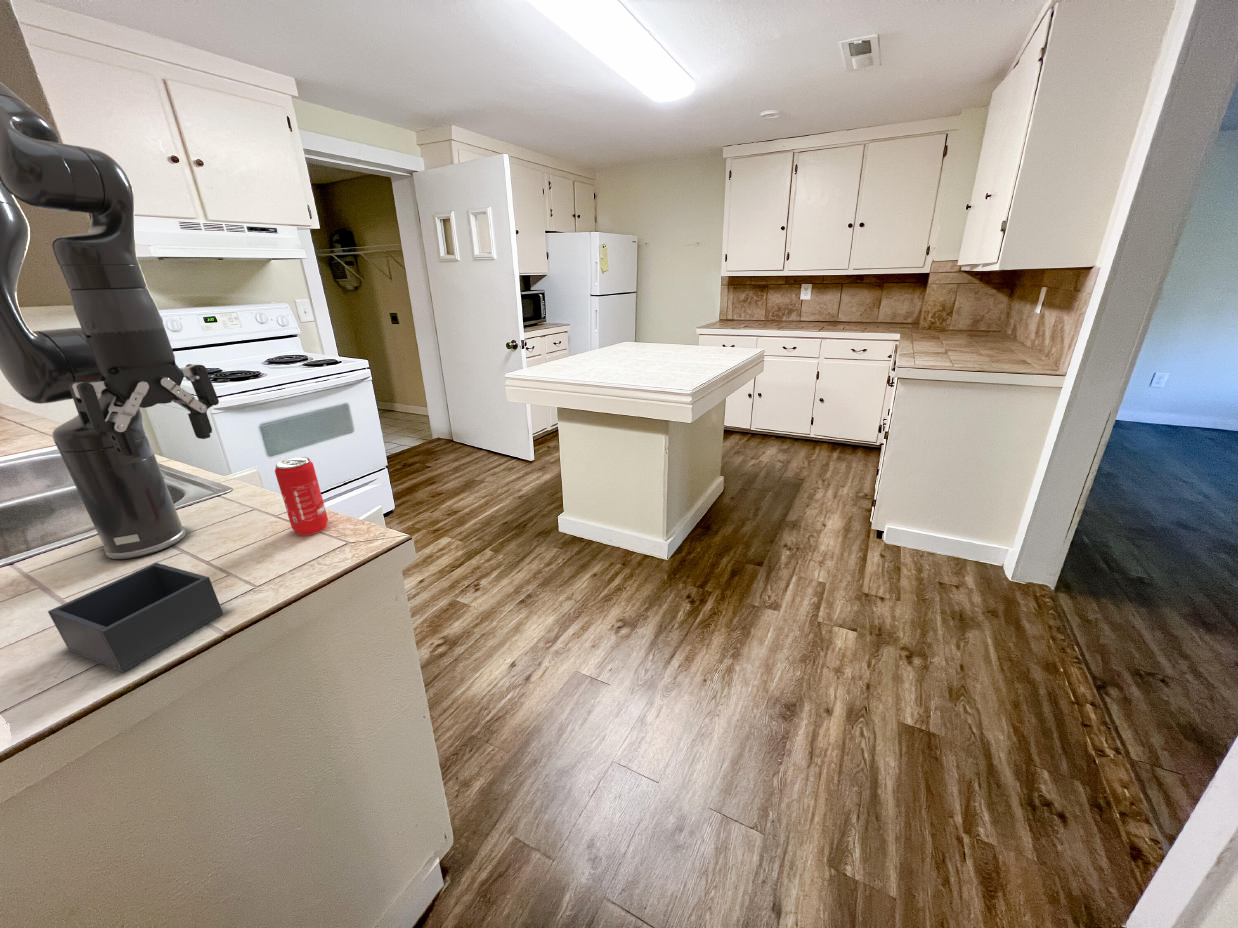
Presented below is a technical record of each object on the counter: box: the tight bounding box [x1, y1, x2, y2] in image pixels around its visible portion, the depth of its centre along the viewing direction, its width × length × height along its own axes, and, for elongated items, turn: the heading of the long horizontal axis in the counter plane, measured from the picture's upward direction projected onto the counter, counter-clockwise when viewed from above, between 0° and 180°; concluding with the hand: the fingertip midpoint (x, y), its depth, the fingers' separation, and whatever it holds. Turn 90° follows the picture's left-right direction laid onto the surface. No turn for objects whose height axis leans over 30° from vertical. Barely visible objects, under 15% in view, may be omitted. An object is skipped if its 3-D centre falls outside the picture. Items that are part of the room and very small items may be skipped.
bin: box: [47, 562, 224, 674], centre depth 57 cm, size 10×10×6 cm
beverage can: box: [274, 456, 329, 537], centre depth 79 cm, size 5×5×12 cm
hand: (170, 447), depth 67 cm, fingers open, 8 cm apart
